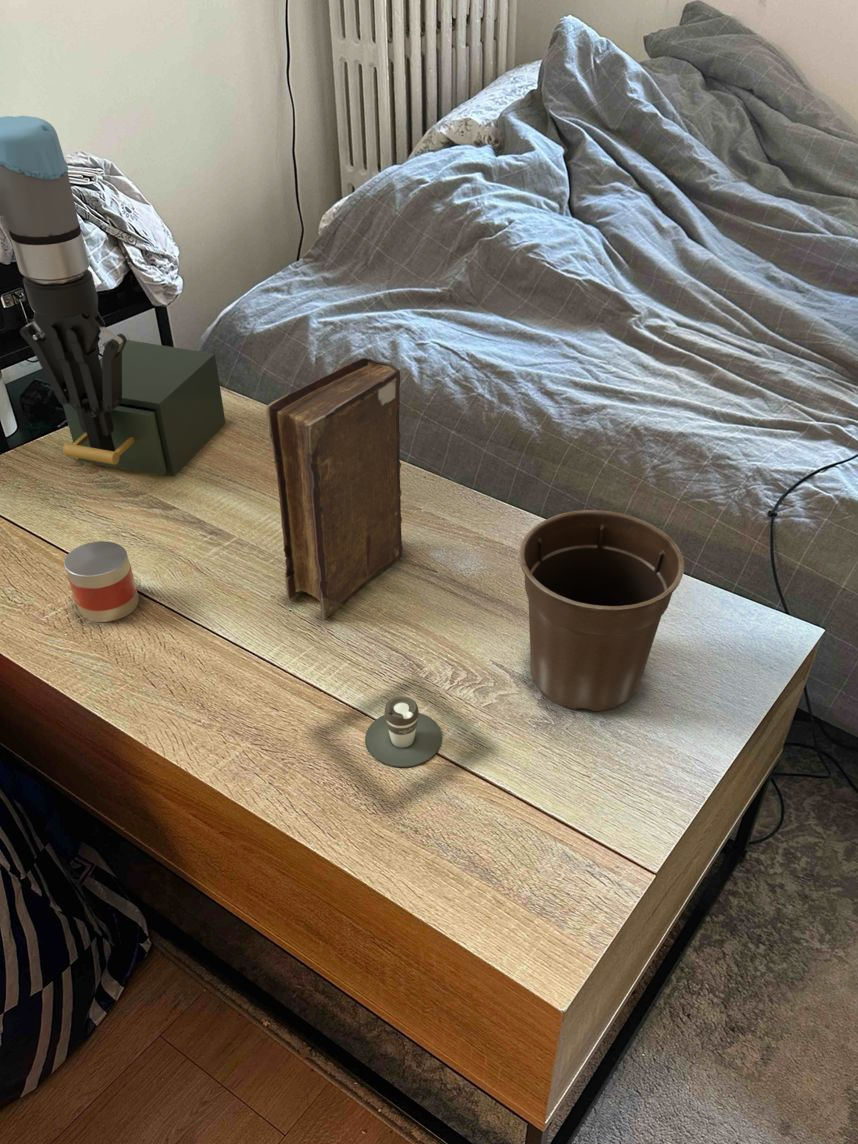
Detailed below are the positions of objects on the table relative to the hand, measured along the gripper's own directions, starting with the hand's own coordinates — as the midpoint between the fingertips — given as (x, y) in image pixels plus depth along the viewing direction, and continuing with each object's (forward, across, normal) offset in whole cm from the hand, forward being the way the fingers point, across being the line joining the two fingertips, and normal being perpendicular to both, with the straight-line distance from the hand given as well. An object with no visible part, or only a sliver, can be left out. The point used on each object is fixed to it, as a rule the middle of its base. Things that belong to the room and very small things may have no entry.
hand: (104, 454), depth 126 cm
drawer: (+4, 0, -7) cm, 8 cm away
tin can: (+5, -13, +23) cm, 27 cm away
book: (+5, -38, +10) cm, 39 cm away
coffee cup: (+5, -52, +34) cm, 62 cm away
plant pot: (+5, -68, +19) cm, 71 cm away
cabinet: (+5, 0, -12) cm, 13 cm away
